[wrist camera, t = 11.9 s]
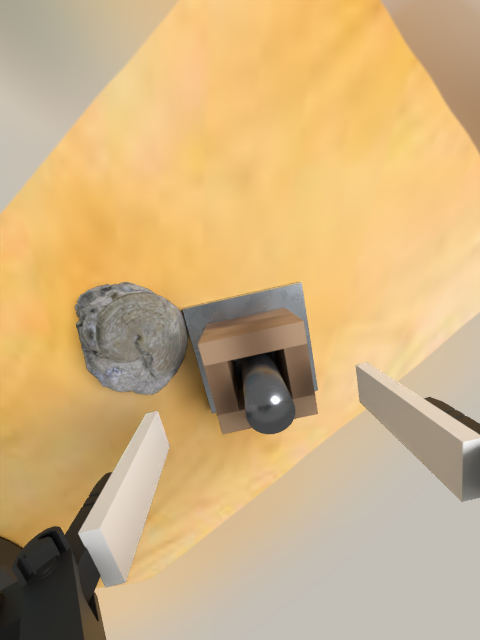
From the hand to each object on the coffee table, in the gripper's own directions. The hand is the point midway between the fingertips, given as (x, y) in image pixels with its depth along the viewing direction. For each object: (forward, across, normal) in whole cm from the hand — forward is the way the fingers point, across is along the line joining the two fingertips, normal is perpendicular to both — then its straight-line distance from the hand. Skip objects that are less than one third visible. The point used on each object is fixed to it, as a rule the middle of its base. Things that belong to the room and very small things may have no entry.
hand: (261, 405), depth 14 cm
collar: (+9, +1, 0) cm, 9 cm away
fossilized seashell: (+11, -11, +5) cm, 16 cm away
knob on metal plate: (+10, +1, 0) cm, 10 cm away
